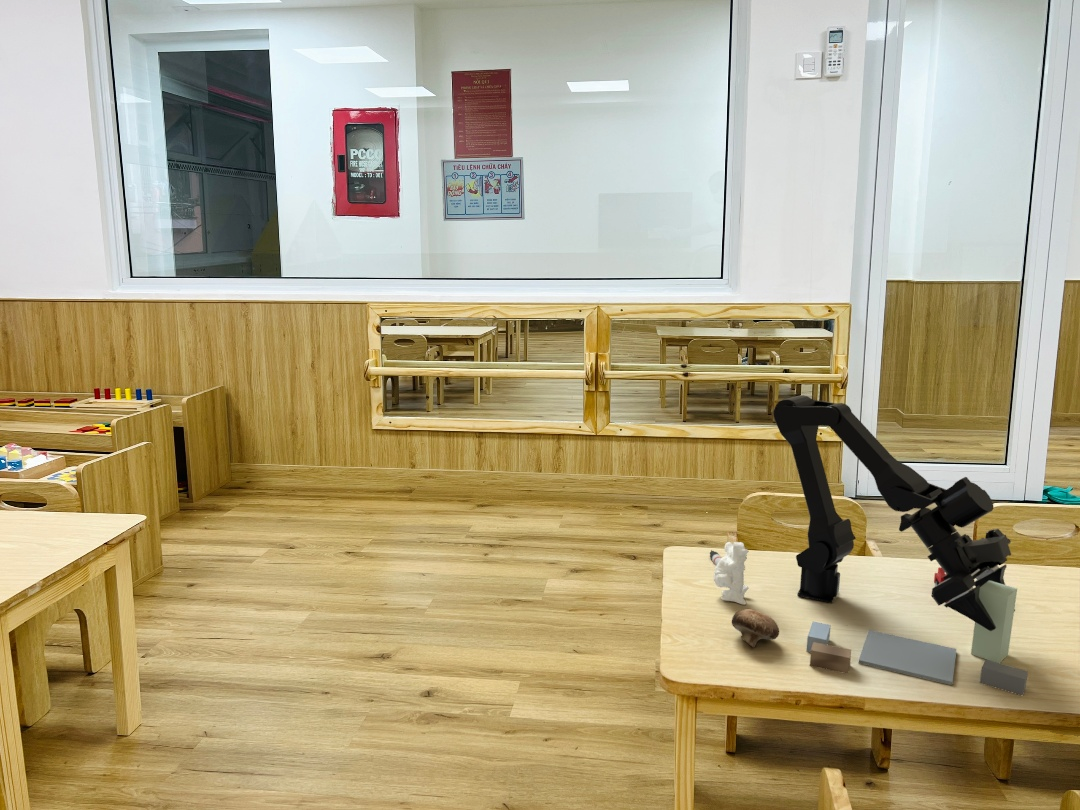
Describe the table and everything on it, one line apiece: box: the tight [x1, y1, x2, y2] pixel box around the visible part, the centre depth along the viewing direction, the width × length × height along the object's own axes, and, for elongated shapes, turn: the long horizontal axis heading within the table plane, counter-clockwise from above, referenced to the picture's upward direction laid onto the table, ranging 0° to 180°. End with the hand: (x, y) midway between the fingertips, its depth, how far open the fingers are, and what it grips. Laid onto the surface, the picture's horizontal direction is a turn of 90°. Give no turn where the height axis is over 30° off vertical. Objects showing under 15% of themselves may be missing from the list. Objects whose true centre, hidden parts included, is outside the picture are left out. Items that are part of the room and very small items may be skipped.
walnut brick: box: [809, 642, 852, 675], centre depth 139 cm, size 6×3×3 cm, turn 66°
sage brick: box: [970, 580, 1018, 664], centre depth 142 cm, size 4×4×12 cm
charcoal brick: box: [979, 659, 1029, 696], centre depth 134 cm, size 6×3×3 cm, turn 53°
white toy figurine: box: [713, 541, 749, 606], centre depth 162 cm, size 8×7×12 cm
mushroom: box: [731, 608, 780, 648], centre depth 146 cm, size 8×8×6 cm
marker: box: [709, 549, 723, 567], centre depth 177 cm, size 15×2×2 cm, turn 6°
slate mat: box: [858, 629, 957, 686], centre depth 142 cm, size 14×12×1 cm
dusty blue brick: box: [806, 621, 831, 653], centre depth 146 cm, size 6×3×3 cm, turn 155°
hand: (1003, 621), depth 141 cm, fingers open, 9 cm apart
